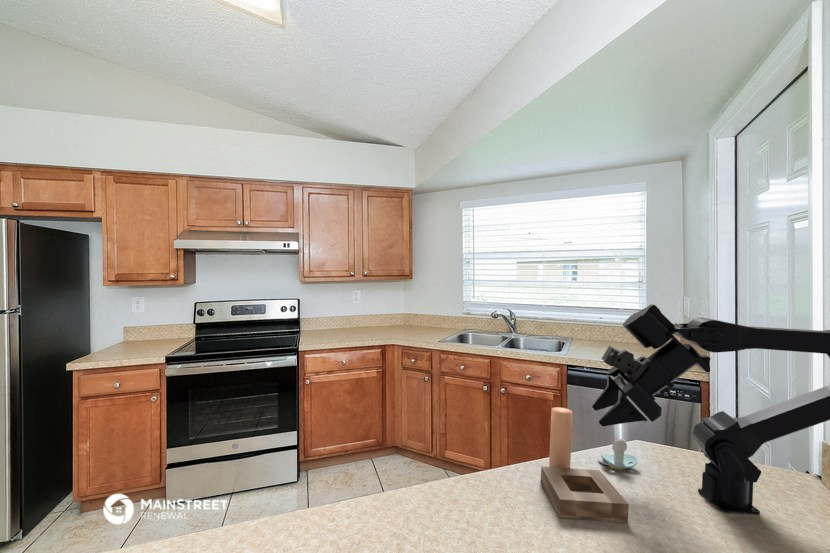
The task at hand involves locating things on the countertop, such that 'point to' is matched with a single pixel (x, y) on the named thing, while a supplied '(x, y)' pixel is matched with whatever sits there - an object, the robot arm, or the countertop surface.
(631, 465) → the pacifier
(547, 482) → the socket block
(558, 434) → the peg
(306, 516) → the countertop surface
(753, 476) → the robot arm
